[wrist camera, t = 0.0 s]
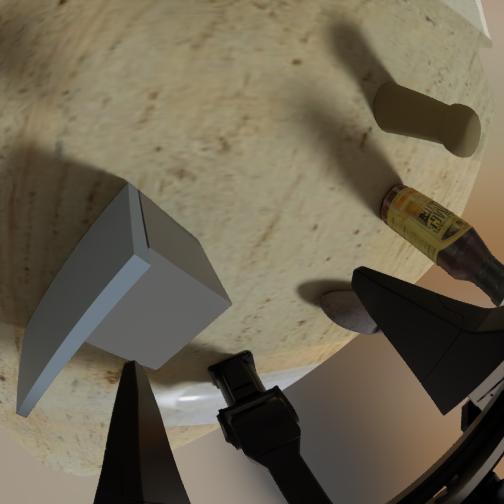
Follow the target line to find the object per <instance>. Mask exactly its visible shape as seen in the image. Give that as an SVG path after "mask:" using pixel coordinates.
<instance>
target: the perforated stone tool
mask: <svg viewBox="0 0 504 504" xmlns="http://www.w3.org/2000/svg"><path fill="white" fill-rule="evenodd" d="M320 303H321V307H322V310H323V311H324V313H325V314H326V315H327V316H328V317H329V318H330V319H331V320H332V321H333V322H335V323H336V324H337V325H339V326H341V327H343V328H345V329H348V330H351V331H354V332H358V333H363V334H379V333H383V332H382V331H381V330H380V328H379V327H378V326H377V324H376V323H375V322H374V321H373V319H372V318H371V317H370V315H369V314H368V312H367V311H366V309H365V308H364V306H363V304H362V303H361V301H360V300H359V298H358V297H357V295H356V294H355V292H354V291H335V292H330V293H327V294H325V295H323V296H322V298H321V301H320Z"/></svg>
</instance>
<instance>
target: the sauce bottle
mask: <svg viewBox="0 0 504 504" xmlns="http://www.w3.org/2000/svg"><path fill="white" fill-rule="evenodd" d="M381 216H382V219H383V221H384V223H385V224H386V225H388V226H389V227H390V228H391V229H392V230H394V231H395V232H396V233H398V234H399V235H400V236H402V237H403V238H404V239H405V240H407V241H408V242H409V243H411V244H412V245H413V246H414V247H416V248H417V249H418V250H419V251H421V252H422V253H423V254H424V255H426V256H427V257H428V258H429V259H431V260H432V261H433V262H434V263H435V264H436V265H438V266H440V267H442V268H443V269H444V270H445V271H446V272H447V273H448V274H449V275H451V276H452V277H453V278H454V279H457V280H465V281H470V282H472V283H474V284H475V285H476V286H477V287H479V288H480V289H482V290H483V291H484V292H485V293H486V294H487V295H488V296H489V297H490V298H491V301H492V302H493V303H494V304H495V305H496V306H497V307H500V306H501V305H502V304H503V303H504V265H503V264H502V263H501V262H499V261H498V260H497V259H496V258H495V257H494V256H493V255H492V254H491V252H490V251H489V249H488V248H487V246H486V245H485V243H484V242H483V240H482V239H481V238H480V236H479V235H478V233H477V232H476V231H475V229H474V228H473V227H472V226H471V225H469V224H468V223H467V222H465V221H463V220H462V219H461V218H459V217H458V216H457V215H455V214H454V213H452V212H451V211H449V210H448V209H446V208H444V207H443V206H441V205H440V204H438V203H437V202H435V201H433V200H432V199H430V198H428V197H427V196H425V195H424V194H422V193H420V192H418V191H417V190H415V189H413V188H409V187H408V186H405V185H401V184H399V185H396V186H395V187H394V188H392V189H391V190H390V192H388V193H387V194H386V196H385V198H384V202H383V204H382V208H381Z"/></svg>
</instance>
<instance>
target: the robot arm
mask: <svg viewBox="0 0 504 504" xmlns="http://www.w3.org/2000/svg"><path fill="white" fill-rule="evenodd" d="M351 286H352V289H353V290H354V292H355V294H356V295H357V297H358V298H359V300H360V301H361V303H362V304H363V306H364V308H365V309H366V311H367V312H368V314H369V315H370V317H371V318H372V319H373V321H374V322H375V323H376V324H377V326H378V327H379V328H380V330H381V331H382V332H383V333H384V335H385V336H386V337H387V338H388V340H389V341H390V342H391V344H392V345H393V346H394V347H395V349H396V350H397V352H398V353H399V354H400V356H401V357H402V358H403V360H404V361H405V362H406V364H407V365H408V366H409V368H410V369H411V371H412V372H413V373H414V374H415V376H416V377H417V379H418V380H419V382H420V383H421V385H422V386H423V387H424V389H425V390H426V391H427V393H428V394H429V396H430V397H431V399H432V400H433V401H434V403H435V404H436V406H437V407H438V409H439V410H440V412H441V413H442V414H443V415H446V414H447V413H448V412H449V411H451V410H452V409H453V408H454V407H456V406H457V405H458V404H459V403H460V402H461V401H463V400H464V399H465V398H466V397H468V398H469V399H468V401H467V402H466V403H465V404H464V405H463V406H462V416H461V430H462V431H463V435H462V436H461V437H460V438H459V439H458V440H457V441H456V443H455V444H453V445H452V447H451V448H450V449H449V450H448V451H447V452H446V453H445V454H444V455H443V456H442V457H441V458H440V459H439V460H438V461H437V462H436V463H434V464H433V465H432V466H431V467H430V468H429V469H428V470H427V471H426V472H425V473H424V474H422V475H421V476H420V477H419V478H418V479H417V480H416V481H415V482H413V483H412V484H411V485H410V486H408V487H407V488H406V489H405V490H403V491H402V492H401V493H400V494H398V495H397V496H395V497H394V498H393V499H392V500H390V501H389V502H387V503H386V504H504V479H502V480H500V479H499V477H498V476H497V475H496V473H495V472H493V469H494V468H495V467H496V465H497V464H498V463H499V461H500V460H501V458H502V457H503V456H504V305H503V306H500V307H496V308H482V307H479V306H475V305H472V304H468V303H465V302H461V301H458V300H454V299H452V298H449V297H446V296H443V295H440V294H438V293H435V292H433V291H430V290H427V289H424V288H422V287H419V286H416V285H414V284H411V283H408V282H406V281H403V280H400V279H398V278H395V277H392V276H389V275H387V274H384V273H381V272H378V271H375V270H373V269H370V268H367V267H364V266H360V267H358V268H356V269H354V271H353V276H352V281H351ZM208 371H209V373H210V375H211V377H212V379H213V381H214V383H215V385H216V386H217V388H218V389H220V390H221V392H222V394H223V397H224V399H225V401H226V403H227V405H228V407H227V408H224V409H220V410H218V411H219V414H218V415H217V419H218V421H219V423H220V426H221V428H222V431H223V434H224V437H225V440H226V441H227V442H228V443H231V444H232V445H233V446H235V448H236V449H237V450H239V449H241V448H242V450H243V452H244V454H245V455H246V456H247V458H248V459H249V460H250V461H251V462H253V463H254V464H256V465H258V466H260V467H261V468H263V469H265V470H267V471H269V472H270V473H271V475H272V477H273V478H274V480H275V482H276V484H277V485H278V487H279V489H280V491H281V492H282V494H283V495H284V497H285V499H286V500H287V502H288V503H289V504H333V503H332V502H331V500H330V499H329V497H328V496H327V495H326V493H325V492H324V490H323V489H322V487H321V486H320V484H319V483H318V481H317V480H316V478H315V477H314V475H313V474H312V472H311V471H310V469H309V468H308V466H307V464H306V463H305V461H304V460H303V458H302V457H301V455H300V435H301V434H300V433H301V430H300V427H299V426H298V424H297V423H299V418H298V416H297V414H296V412H295V410H294V408H293V407H292V405H291V404H290V402H289V401H288V399H287V398H286V397H285V395H284V394H283V393H282V391H281V390H280V389H279V387H278V386H277V385H276V386H274V387H273V388H271V389H269V390H267V391H266V389H265V387H264V385H263V384H262V382H261V380H260V378H259V376H258V375H257V373H256V369H255V364H254V359H253V355H252V353H251V352H246V353H244V354H242V355H239V356H237V357H234V358H232V359H229V360H227V361H224V362H222V363H219V364H217V365H214V366H212V367H209V368H208ZM444 486H446V487H447V488H445V489H444V490H443V491H441V492H440V493H439V494H437V496H435V497H433V496H434V495H435V494H436V493H438V491H440V490H441V489H442V488H443V487H444ZM432 497H433V498H432ZM93 504H191V503H190V501H189V498H188V496H187V493H186V490H185V488H184V485H183V483H182V480H181V477H180V475H179V472H178V469H177V466H176V463H175V460H174V457H173V454H172V451H171V448H170V445H169V441H168V438H167V435H166V431H165V428H164V424H163V421H162V417H161V414H160V410H159V408H158V405H157V402H156V400H155V397H154V394H153V392H152V389H151V386H150V383H149V380H148V378H147V375H146V373H145V371H144V370H143V368H142V367H141V366H140V365H139V364H138V362H137V361H136V360H131V361H128V362H126V363H125V364H124V367H123V371H122V374H121V378H120V382H119V386H118V390H117V395H116V399H115V403H114V408H113V412H112V417H111V422H110V427H109V432H108V437H107V442H106V449H105V453H104V459H103V464H102V470H101V474H100V478H99V483H98V487H97V490H96V494H95V499H94V503H93Z"/></svg>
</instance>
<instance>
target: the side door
mask: <svg viewBox="0 0 504 504" xmlns="http://www.w3.org/2000/svg"><path fill="white" fill-rule="evenodd" d="M150 266H151V262H150V257H149V253H148V247H147V242H146V237H145V232H144V226H143V220H142V214H141V208H140V202H139V195H138V190H137V189H136V188H135V187H134V186H133V185H131V184H130V183H129V182H128V183H127V184H126V185H125V186H124V187H123V189H122V190H121V191H120V192H119V193H118V194H117V196H116V197H115V198H114V199H113V200H112V201H111V203H110V204H109V205H108V206H107V207H106V209H105V210H104V211H103V212H102V213H101V215H100V216H99V217H98V218H97V220H96V221H95V222H94V224H93V225H92V226H91V227H90V229H89V230H88V231H87V233H86V234H85V235H84V237H83V238H82V239H81V241H80V242H79V243H78V245H77V246H76V247H75V249H74V250H73V252H72V253H71V255H70V256H69V257H68V259H67V260H66V262H65V263H64V265H63V266H62V268H61V269H60V271H59V272H58V274H57V275H56V277H55V278H54V280H53V281H52V283H51V285H50V286H49V288H48V289H47V291H46V293H45V294H44V296H43V298H42V299H41V301H40V303H39V305H38V306H37V308H36V310H35V312H34V313H33V315H32V317H31V319H30V321H29V323H28V324H27V326H26V328H25V333H24V339H23V345H22V351H21V359H20V366H19V376H18V388H17V407H16V414H18V415H20V416H23V417H26V418H27V416H28V415H29V413H30V412H31V411H32V409H33V408H34V406H35V405H36V404H37V402H38V401H39V399H40V398H41V397H42V395H43V394H44V392H45V391H46V390H47V388H48V387H49V386H50V384H51V383H52V382H53V380H54V379H55V378H56V376H57V375H58V374H59V373H60V371H61V370H62V369H63V367H64V366H65V365H66V364H67V362H68V361H69V360H70V358H71V357H72V356H73V355H74V353H75V352H76V351H77V350H78V348H79V347H80V346H81V345H82V344H83V342H84V341H85V340H86V339H87V338H88V336H89V335H90V334H91V333H92V332H93V330H94V329H95V328H96V327H97V326H98V324H99V323H100V322H101V321H102V320H103V319H104V317H105V316H106V315H107V314H108V313H109V312H110V310H111V309H112V308H113V307H114V306H115V305H116V304H117V303H118V301H119V300H120V299H121V298H122V297H123V296H124V295H125V294H126V292H127V291H128V290H129V289H130V288H131V287H132V286H133V285H134V284H135V283H136V281H137V280H138V279H139V278H140V277H141V276H142V275H143V274H144V273H145V272H146V271H147V270H148V269H149V267H150Z"/></svg>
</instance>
